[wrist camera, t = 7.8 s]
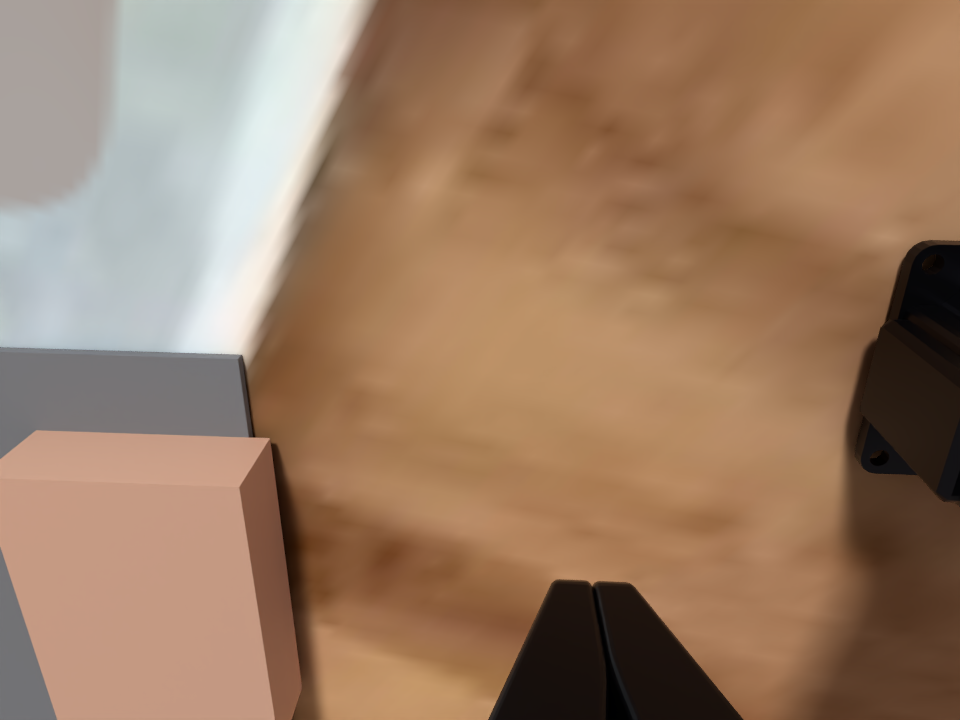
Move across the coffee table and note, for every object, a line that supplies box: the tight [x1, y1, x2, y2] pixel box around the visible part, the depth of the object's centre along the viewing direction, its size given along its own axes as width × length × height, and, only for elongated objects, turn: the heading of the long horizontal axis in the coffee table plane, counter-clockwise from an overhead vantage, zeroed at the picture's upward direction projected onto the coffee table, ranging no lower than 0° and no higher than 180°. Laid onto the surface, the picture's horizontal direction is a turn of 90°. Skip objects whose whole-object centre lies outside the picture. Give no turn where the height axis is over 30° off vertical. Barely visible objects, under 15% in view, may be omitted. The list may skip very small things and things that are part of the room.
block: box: [0, 430, 302, 720], centre depth 22 cm, size 2×10×7 cm
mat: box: [0, 347, 253, 720], centre depth 23 cm, size 12×15×1 cm
